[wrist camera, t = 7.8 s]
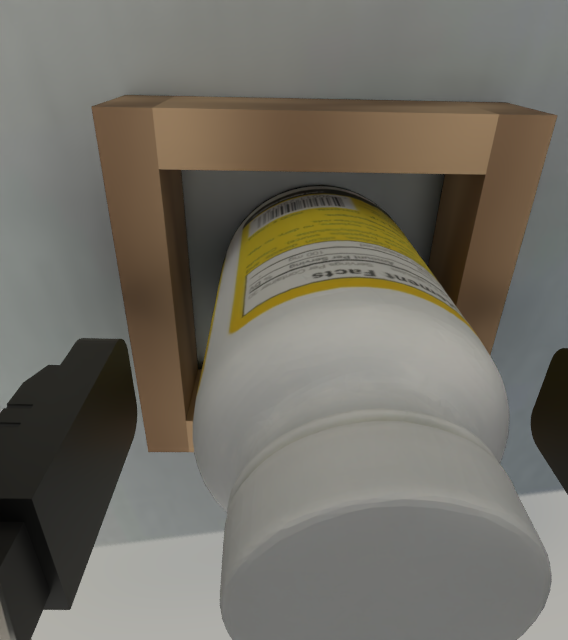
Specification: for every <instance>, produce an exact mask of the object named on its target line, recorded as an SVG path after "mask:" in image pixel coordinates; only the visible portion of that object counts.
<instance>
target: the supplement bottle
mask: <svg viewBox="0 0 568 640" xmlns="http://www.w3.org/2000/svg"><path fill="white" fill-rule="evenodd" d="M508 432H509V406H508V399H507V395H506V391H505V387H504V384H503V381H502V378H501V375H500V373H499V371H498V369H497V367H496V365H495V363H494V362H493V360H492V358H491V357H490V355H489V353H488V352H487V350H486V348H485V347H484V345H483V343H482V342H481V340H480V339H479V337H478V336H477V334H476V333H475V332H474V330H473V329H472V327H471V326H470V324H469V323H468V322H467V321H466V319H465V318H464V317H463V315H462V314H461V313H460V311H459V310H458V308H457V307H456V306H455V304H454V303H453V302H452V300H451V299H450V297H449V296H448V295H447V293H446V292H445V290H444V289H443V287H442V286H441V285H440V283H439V282H438V281H437V279H436V278H435V276H434V275H433V274H432V272H431V271H430V269H429V268H428V267H427V265H426V264H425V262H424V261H423V260H422V258H421V257H420V256H419V254H418V253H417V251H416V250H415V249H414V247H413V246H412V245H411V243H410V242H409V241H408V239H407V238H406V236H405V235H404V234H403V232H402V231H401V230H400V228H399V227H398V226H397V225H396V223H395V222H394V221H393V220H392V219H391V217H390V216H389V215H388V214H387V213H386V212H385V211H383V210H382V209H381V208H380V207H379V206H377V205H376V204H375V203H373V202H372V201H370V200H368V199H366V198H364V197H363V196H361V195H358V194H356V193H354V192H351V191H348V190H345V189H340V188H336V187H325V186H314V187H304V188H299V189H295V190H291V191H288V192H285V193H282V194H280V195H277V196H275V197H274V198H272V199H270V200H268V201H266V202H265V203H263V204H262V205H261V206H259V207H258V208H257V209H255V210H254V211H253V212H252V213H251V214H250V215H249V216H248V217H247V218H246V219H245V220H244V221H243V223H242V224H241V225H240V227H239V228H238V230H237V231H236V233H235V234H234V236H233V238H232V240H231V242H230V245H229V247H228V250H227V253H226V256H225V259H224V262H223V267H222V272H221V276H220V281H219V286H218V290H217V296H216V301H215V307H214V311H213V316H212V321H211V327H210V332H209V337H208V342H207V347H206V351H205V356H204V361H203V367H202V371H201V376H200V381H199V386H198V390H197V396H196V402H195V409H194V418H193V446H194V454H195V458H196V462H197V465H198V468H199V471H200V474H201V476H202V478H203V481H204V483H205V485H206V487H207V488H208V490H209V491H210V493H211V494H212V496H213V497H214V499H215V500H216V501H217V502H218V504H219V505H220V506H221V507H222V508H223V509H224V510H225V511H226V512H227V518H226V523H225V531H224V543H223V557H222V573H221V589H220V608H221V614H222V619H223V622H224V624H225V627H226V629H227V631H228V633H229V635H230V637H231V638H232V640H517V639H518V638H519V637H521V636H522V635H523V634H524V633H525V632H526V631H527V629H528V628H529V627H530V626H531V625H532V624H533V623H534V622H535V620H536V619H537V617H538V616H539V614H540V613H541V611H542V610H543V608H544V606H545V603H546V600H547V598H548V595H549V592H550V586H551V569H550V562H549V559H548V555H547V552H546V550H545V548H544V546H543V544H542V542H541V540H540V538H539V536H538V534H537V532H536V530H535V528H534V526H533V524H532V522H531V520H530V518H529V516H528V514H527V512H526V510H525V509H524V506H523V505H522V503H521V501H520V499H519V497H518V495H517V493H516V491H515V488H514V486H513V483H512V482H511V480H510V478H509V477H508V475H507V474H506V472H505V470H504V469H503V468H502V466H501V465H500V462H501V460H502V457H503V454H504V451H505V447H506V443H507V438H508Z"/></svg>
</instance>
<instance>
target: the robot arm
mask: <svg viewBox="0 0 568 640" xmlns="http://www.w3.org/2000/svg"><path fill="white" fill-rule="evenodd" d="M136 423H137V404H136V397H135V391H134V385H133V379H132V373H131V367H130V360H129V354H128V349H127V345H126V343H125V341H124V340H123V339H97V338H81V339H79V340H77V342H76V343H75V344H74V346H73V347H72V349H71V350H70V352H69V353H68V355H67V356H66V358H65V359H64V361H63V362H62V363H61V365H48V366H46V367H45V368H43V369H42V370H41V371H39V372H38V373H36V374H35V375H33V376H32V377H31V378H29V379H28V380H26V381H25V382H23V384H22V385H21V386H20V388H19V389H18V390H17V392H16V393H15V394H14V396H13V397H12V398H11V399H10V401H9V402H8V403H7V408H4V409H3V410H2V411H1V413H0V640H31V637H32V635H33V632H34V630H35V628H36V625H37V623H38V620H39V618H40V616H41V613H42V611H43V610H70V609H71V606H72V603H73V601H74V598H75V595H76V593H77V590H78V587H79V584H80V582H81V579H82V576H83V573H84V570H85V568H86V565H87V563H88V560H89V557H90V555H91V552H92V549H93V547H94V544H95V541H96V538H97V536H98V533H99V530H100V528H101V525H102V522H103V519H104V517H105V514H106V511H107V509H108V506H109V503H110V500H111V498H112V495H113V492H114V490H115V487H116V484H117V481H118V479H119V476H120V473H121V471H122V468H123V465H124V463H125V460H126V457H127V454H128V452H129V449H130V446H131V444H132V441H133V438H134V434H135V430H136ZM531 431H532V436H533V439H534V441H535V444H536V445H537V447H538V449H539V450H540V452H541V453H542V455H543V457H544V458H545V460H546V461H547V463H548V464H549V466H550V468H551V469H552V471H553V472H554V474H555V475H556V477H557V479H558V480H559V482H560V483H561V485H562V486H563V488H564V490H565V491H566V493H567V494H568V348H562V349H560V350H558V351H557V352H556V353H555V354H554V356H553V358H552V360H551V362H550V365H549V368H548V370H547V373H546V376H545V379H544V381H543V384H542V387H541V389H540V392H539V395H538V397H537V400H536V403H535V406H534V408H533V411H532V415H531Z"/></svg>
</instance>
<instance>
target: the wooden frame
mask: <svg viewBox="0 0 568 640" xmlns="http://www.w3.org/2000/svg"><path fill="white" fill-rule="evenodd" d="M92 113H93V119H94V125H95V131H96V137H97V143H98V149H99V155H100V161H101V167H102V173H103V179H104V185H105V191H106V198H107V204H108V210H109V216H110V222H111V228H112V234H113V240H114V246H115V252H116V258H117V264H118V270H119V276H120V282H121V288H122V294H123V300H124V306H125V312H126V318H127V325H128V331H129V337H130V343H131V349H132V355H133V361H134V367H135V373H136V379H137V385H138V391H139V397H140V403H141V409H142V415H143V421H144V427H145V433H146V439H147V446H148V452H194V446H193V418H194V409H195V402H196V396H197V390H198V386H199V381H200V376H201V371H202V370H198V363H197V351H196V339H195V328H194V316H193V304H192V292H191V281H190V269H189V257H188V246H187V234H186V222H185V210H184V199H183V187H182V175H181V170H231V171H293V172H356V173H419V174H445V177H444V183H443V188H442V194H441V199H440V205H439V210H438V215H437V221H436V226H435V232H434V237H433V243H432V248H431V254H430V259H429V265H428V268H429V269H430V271H431V272H432V274H433V275H434V276H435V278H436V279H437V281H438V282H439V283H440V285H441V286H442V287H443V289H444V290H445V292H446V293H447V295H448V296H449V297H450V299H451V300H452V302H453V303H454V304H455V306H456V307H457V308H458V310H459V311H460V313H461V314H462V315H463V317H464V318H465V319H466V321H467V322H468V323H469V324H470V326H471V327H472V329H473V330H474V332H475V333H476V334H477V336H478V337H479V339H480V340H481V342H482V343H483V345H484V347H485V348H486V350H487V352H488V353H489V355H490V354H491V351H492V347H493V343H494V340H495V336H496V333H497V329H498V326H499V322H500V318H501V315H502V311H503V308H504V304H505V301H506V297H507V294H508V290H509V286H510V283H511V279H512V276H513V272H514V269H515V265H516V261H517V258H518V254H519V251H520V247H521V244H522V240H523V236H524V233H525V229H526V226H527V222H528V219H529V215H530V212H531V208H532V204H533V201H534V197H535V194H536V190H537V187H538V183H539V179H540V176H541V172H542V169H543V165H544V162H545V158H546V154H547V151H548V147H549V144H550V140H551V137H552V133H553V129H554V126H555V122H556V119H557V115H553V114H549V113H545V112H541V111H537V110H534V109H530V108H526V107H522V106H518V105H514V104H510V103H502V102H452V101H401V100H350V99H299V98H248V97H198V96H147V95H124V96H121V97H118V98H115V99H112V100H109V101H107V102H104V103H101V104H98V105H95V106H92Z"/></svg>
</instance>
